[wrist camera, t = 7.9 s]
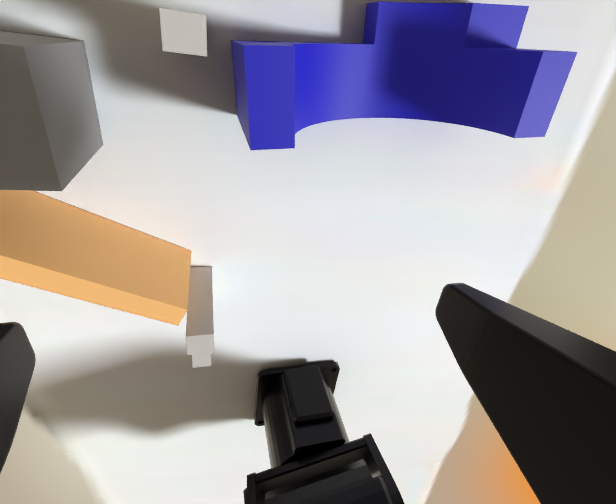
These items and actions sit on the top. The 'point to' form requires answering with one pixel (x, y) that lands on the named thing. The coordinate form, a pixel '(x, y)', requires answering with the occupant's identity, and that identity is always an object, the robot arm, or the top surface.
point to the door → (91, 257)
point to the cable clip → (403, 74)
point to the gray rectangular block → (45, 112)
